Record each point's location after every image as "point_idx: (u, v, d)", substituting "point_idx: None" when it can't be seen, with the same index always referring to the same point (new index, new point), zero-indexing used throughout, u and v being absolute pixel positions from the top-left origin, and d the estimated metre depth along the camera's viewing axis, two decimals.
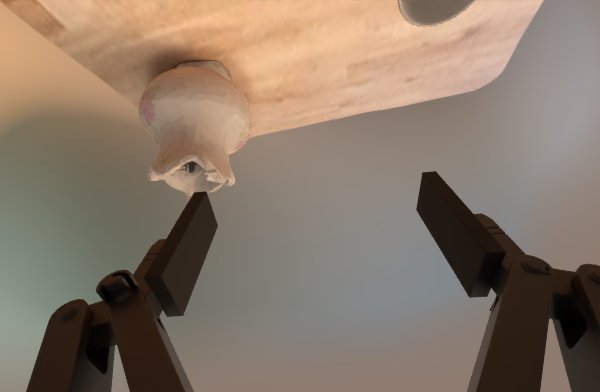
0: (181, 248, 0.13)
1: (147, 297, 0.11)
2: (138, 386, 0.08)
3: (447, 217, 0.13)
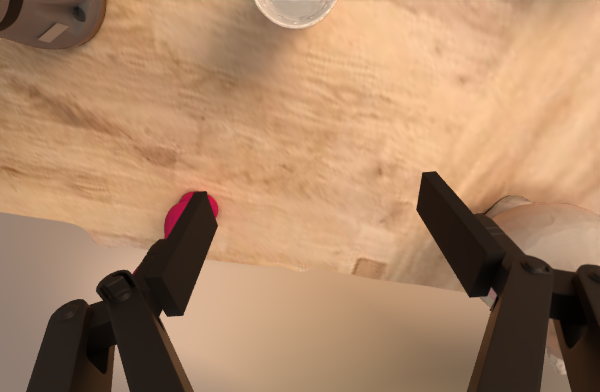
0: (181, 248, 0.13)
1: (147, 297, 0.11)
2: (138, 386, 0.08)
3: (447, 217, 0.13)
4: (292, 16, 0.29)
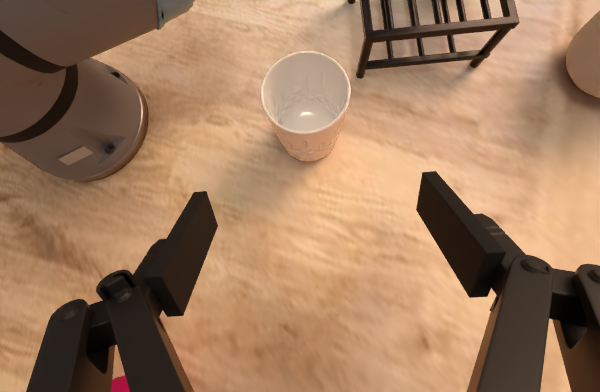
0: (181, 248, 0.13)
1: (147, 297, 0.11)
2: (138, 386, 0.08)
3: (447, 217, 0.13)
4: None
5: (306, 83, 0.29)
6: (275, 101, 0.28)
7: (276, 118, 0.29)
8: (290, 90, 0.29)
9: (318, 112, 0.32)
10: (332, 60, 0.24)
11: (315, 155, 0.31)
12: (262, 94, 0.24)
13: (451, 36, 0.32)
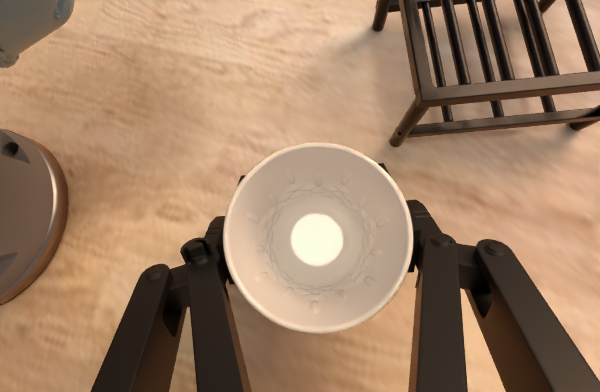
0: None
1: (219, 266, 0.12)
2: (200, 346, 0.09)
3: None
4: (310, 285, 0.18)
5: (315, 179, 0.16)
6: (259, 215, 0.16)
7: (262, 238, 0.17)
8: (286, 189, 0.17)
9: (333, 211, 0.20)
10: (371, 163, 0.12)
11: None
12: (227, 236, 0.12)
13: None
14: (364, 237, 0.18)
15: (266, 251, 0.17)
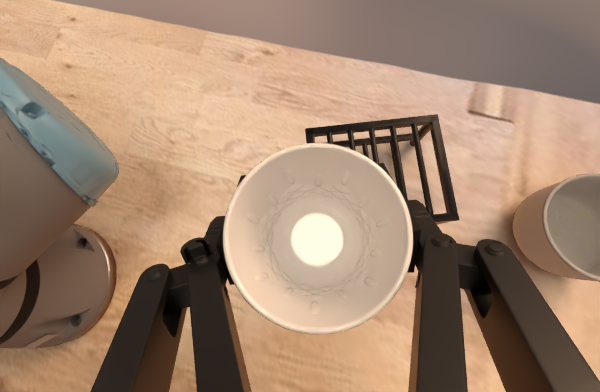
0: None
1: (219, 266, 0.12)
2: (200, 346, 0.09)
3: None
4: (310, 285, 0.18)
5: (314, 179, 0.16)
6: (259, 216, 0.16)
7: (262, 238, 0.17)
8: (286, 190, 0.17)
9: (333, 211, 0.20)
10: (371, 164, 0.12)
11: None
12: (227, 237, 0.12)
13: None
14: (364, 237, 0.18)
15: (266, 251, 0.17)
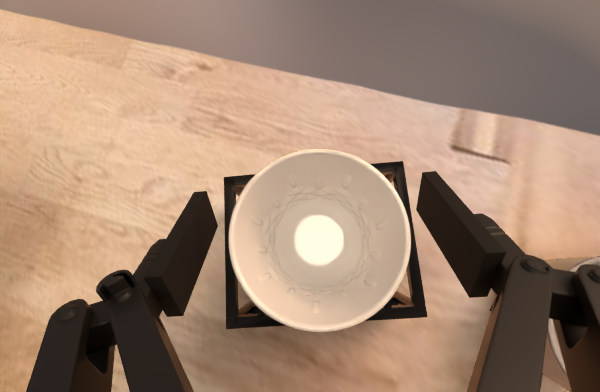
0: (181, 248, 0.13)
1: (147, 297, 0.11)
2: (138, 386, 0.08)
3: (447, 217, 0.13)
4: (311, 285, 0.19)
5: (316, 183, 0.17)
6: (262, 218, 0.16)
7: (265, 240, 0.17)
8: (288, 193, 0.17)
9: (334, 213, 0.20)
10: (370, 169, 0.12)
11: None
12: (232, 239, 0.12)
13: None
14: (364, 239, 0.18)
15: (269, 253, 0.18)
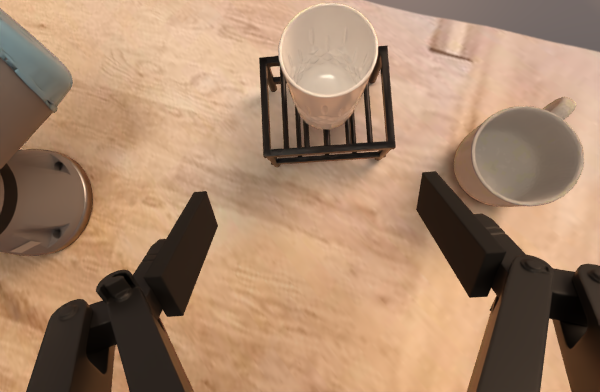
0: (181, 248, 0.13)
1: (147, 297, 0.11)
2: (138, 386, 0.08)
3: (447, 217, 0.13)
4: None
5: (326, 42, 0.26)
6: (292, 62, 0.26)
7: None
8: (308, 50, 0.27)
9: (337, 75, 0.30)
10: (358, 13, 0.22)
11: (333, 122, 0.29)
12: (280, 53, 0.22)
13: (353, 137, 0.36)
14: None
15: None
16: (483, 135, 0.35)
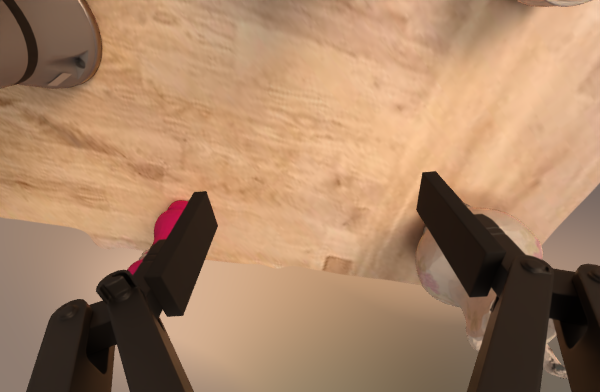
0: (181, 248, 0.13)
1: (147, 297, 0.11)
2: (138, 386, 0.08)
3: (447, 217, 0.13)
4: None
5: None
6: None
7: None
8: None
9: None
10: None
11: None
12: None
13: None
14: None
15: None
16: None
